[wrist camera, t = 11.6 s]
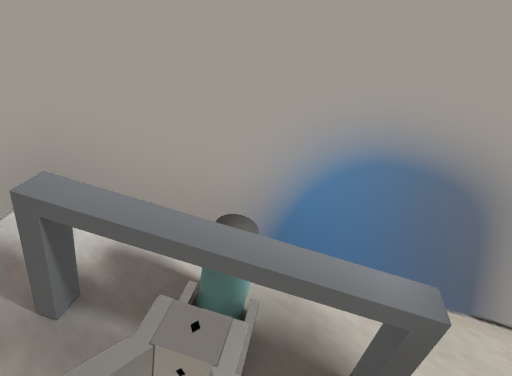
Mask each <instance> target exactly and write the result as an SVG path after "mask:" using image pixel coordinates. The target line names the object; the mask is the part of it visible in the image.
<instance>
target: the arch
mask: <svg viewBox="0 0 512 376" xmlns="http://www.w3.org/2000/svg"><path fill="white" fill-rule="evenodd" d="M10 195H11V199H12V204H13V208H14V213H15V217H16V222H17V226H18V231H19V235H20V240H21V244H22V249H23V254H24V258H25V263H26V267H27V272H28V276H29V281H30V285H31V290H32V294H33V299H34V303H35V308H36V312H37V314H40V315H43V316H46V317H49V318H52V319H55V320H57V319H58V318H59V317H60V316H61V315H62V313H63V312H64V311H65V310H66V309H67V308H68V307H69V305H70V304H71V303H72V302H73V301H74V300H75V299H76V297H77V296H78V295H79V294H80V292H79V283H78V274H77V265H76V256H75V247H74V238H73V230H72V227H74V228H77V229H80V230H84V231H87V232H90V233H93V234H97V235H100V236H103V237H106V238H109V239H113V240H116V241H119V242H122V243H126V244H129V245H132V246H135V247H139V248H142V249H145V250H148V251H152V252H155V253H158V254H161V255H165V256H168V257H171V258H174V259H178V260H181V261H184V262H187V263H191V264H194V265H197V266H200V267H204V268H207V269H210V270H213V271H217V272H220V273H223V274H226V275H230V276H233V277H236V278H239V279H243V280H246V281H249V282H252V283H255V284H259V285H262V286H265V287H268V288H272V289H275V290H278V291H281V292H285V293H288V294H291V295H294V296H298V297H301V298H304V299H307V300H311V301H314V302H317V303H320V304H324V305H327V306H330V307H333V308H337V309H340V310H343V311H346V312H350V313H353V314H356V315H359V316H363V317H366V318H369V319H372V320H376V321H379V322H382V323H383V324H382V326H381V327H380V329H379V331H378V332H377V334H376V335H375V337H374V338H373V340H372V341H371V343H370V345H369V346H368V348H367V349H366V351H365V352H364V354H363V356H362V357H361V359H360V360H359V362H358V363H357V365H356V366H355V368H354V370H353V371H352V373H351V374H350V376H411V374H412V373H413V372H414V371H415V370H416V368H417V367H418V366H419V365H420V363H421V362H422V361H423V360H424V359H425V357H426V356H427V355H428V354H429V352H430V351H431V350H432V349H433V348H434V346H435V345H436V344H437V343H438V341H439V340H440V339H441V338H442V336H443V335H444V334H445V333H446V332H447V330H448V329H449V328H450V327H451V322H450V319H449V317H448V314H447V311H446V308H445V306H444V303H443V300H442V297H441V295H440V292H439V289H438V288H436V287H432V286H429V285H425V284H422V283H419V282H415V281H412V280H408V279H405V278H402V277H399V276H395V275H391V274H388V273H385V272H381V271H378V270H375V269H372V268H368V267H365V266H361V265H358V264H355V263H351V262H348V261H345V260H341V259H338V258H335V257H331V256H327V255H324V254H321V253H318V252H314V251H311V250H307V249H304V248H301V247H297V246H294V245H291V244H287V243H284V242H280V241H277V240H274V239H271V238H267V237H264V236H260V235H257V234H254V233H250V232H247V231H244V230H240V229H237V228H234V227H230V226H227V225H223V224H220V223H217V222H213V221H210V220H207V219H203V218H200V217H197V216H193V215H190V214H186V213H183V212H179V211H176V210H173V209H169V208H166V207H163V206H159V205H156V204H152V203H149V202H146V201H143V200H139V199H136V198H133V197H129V196H126V195H122V194H119V193H116V192H112V191H108V190H105V189H102V188H99V187H96V186H92V185H89V184H85V183H82V182H79V181H75V180H72V179H69V178H65V177H61V176H59V175H55V174H52V173H48V172H45V171H43V172H41V173H39V174H38V175H36V176H34V177H32V178H31V179H29V180H27V181H26V182H24V183H22V184H20V185H19V186H17V187H16V188H14V189H12V190H10Z"/></svg>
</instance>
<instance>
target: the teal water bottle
mask: <svg viewBox="0 0 512 376" xmlns="http://www.w3.org/2000/svg"><path fill="white" fill-rule="evenodd" d="M216 222H217V223H220V224H223V225H227V226H230V227H234V228H237V229H240V230H244V231H247V232H250V233H254V234H257V235H258V227H257V225H256V224H255V223H254V222H253V221H252V220H251V219H249V218H247V217H245V216H242V215H237V214H228V215H224V216H221V217H220V218H218V219H217V221H216ZM249 285H250V282H249V281H246V280H243V279H239V278H236V277H233V276H230V275H226V274H223V273H220V272H217V271H213V270H210V269H207V268H204V267H202V273H201V279H200V285H199V291H198V297H197V303H196V307H199V308H202V309H207V310H210V311H213V312H217V313H220V314H223V315H226V316H230V317H233V319H237V320H239V319H240V317H241V314H242V310H243V307H244V303H245V300H246V296H247V292H248V289H249Z"/></svg>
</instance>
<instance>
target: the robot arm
mask: <svg viewBox="0 0 512 376" xmlns="http://www.w3.org/2000/svg"><path fill="white" fill-rule="evenodd" d="M248 324H249V323H247V322H244V321H241V320H237V319H233V317H230V316H226V315H223V314H220V313H217V312H213V311H210V310H207V309H202V308H199V307H196V306H193V305H190V304H187V303H185V302H182V301H179V300H176V299H173V298H170V297H167V296H164V295H161V294H160V295H159V296H158V297H157V298H156V300H155V301H154V303H153V305H152V306H151V308H150V309H149V311H148V313H147V314H146V316H145V317H144V319H143V321H142V322H141V324H140V326H139V327H138V329H137V330H136V332H135V334H134V335H133V337H132V338H130V337H126V338H124V339H122V340H121V341H119V342H117V343H116V344H114V345H112V346H110V347H109V348H107V349H105V350H104V351H102V352H100V353H98V354H97V355H95V356H93V357H92V358H90V359H88V360H86V361H85V362H83V363H81V364H80V365H78V366H76V367H75V368H73V369H71V370H69V371H68V372H66V373H64V374H63V375H61V376H240V375H239V374H236V373H235V371H236V368H237V364H238V361H239V357H240V354H241V350H242V347H243V343H244V339H245V336H246V332H247V329H248Z"/></svg>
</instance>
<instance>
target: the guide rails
mask: <svg viewBox="0 0 512 376" xmlns="http://www.w3.org/2000/svg"><path fill="white" fill-rule="evenodd" d="M197 284H198V283H197V282H194V281H191V280H189V281H188V283H187V285H186V287H185V289H184V291H183V293H182V295H181V296H180V298H179V301H182V302H185V303H187V304H190V305H191V304H192V302H193V300H194V298H195V296H196V291H197ZM258 306H259V302H258V301H255V300H252V299H250V303H249V306H248V310H247V313H246V317H245V320H244V322H247V323H249V324H248V329H247V332H246V336H245V339H244V343H243V347H242V350H241V354H240V357H239V361H238V364H237V368H236V371H235V373H236V374H239V375H240V376H241V374H242V370H243V366H244V362H245V358H246V354H247V350H248V346H249V342H250V338H251V334H252V330H253V326H254V322H255V318H256V314H257V310H258Z"/></svg>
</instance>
